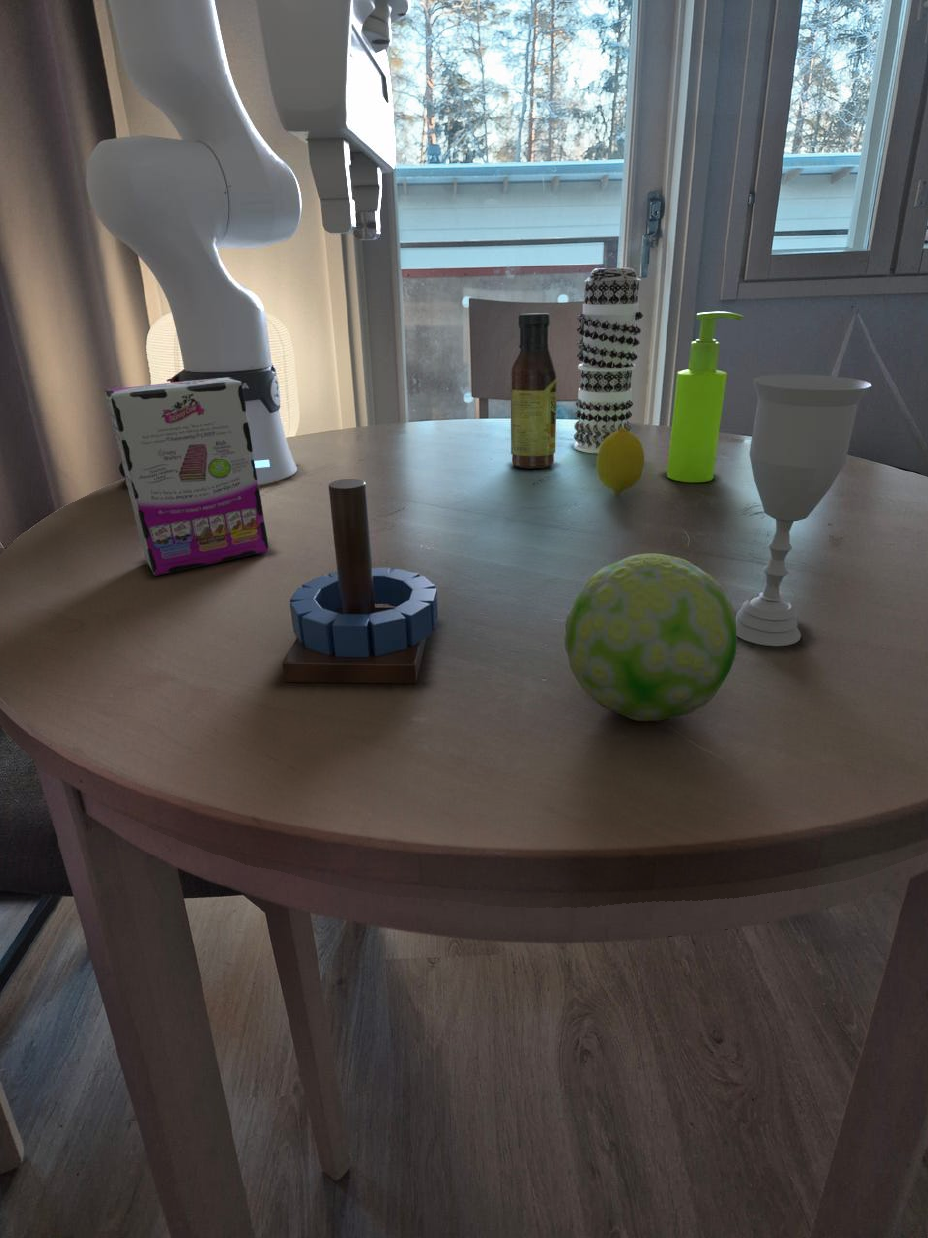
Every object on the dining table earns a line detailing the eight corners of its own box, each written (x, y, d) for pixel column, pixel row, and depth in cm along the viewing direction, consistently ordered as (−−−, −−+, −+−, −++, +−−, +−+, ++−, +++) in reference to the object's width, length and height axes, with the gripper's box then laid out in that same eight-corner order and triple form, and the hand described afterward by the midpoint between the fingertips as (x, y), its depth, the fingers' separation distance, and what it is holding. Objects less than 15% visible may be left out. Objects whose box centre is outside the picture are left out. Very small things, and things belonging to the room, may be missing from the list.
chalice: (837, 645, 52) (898, 385, 44) (757, 659, 50) (805, 392, 42) (771, 605, 58) (814, 372, 50) (697, 616, 56) (730, 377, 49)
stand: (284, 682, 48) (257, 503, 43) (316, 623, 57) (297, 466, 51) (416, 684, 48) (406, 503, 42) (429, 624, 56) (422, 466, 51)
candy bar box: (255, 539, 75) (229, 375, 68) (270, 553, 71) (245, 380, 64) (142, 561, 70) (101, 386, 63) (152, 577, 66) (110, 393, 59)
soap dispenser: (721, 484, 91) (744, 313, 82) (664, 480, 93) (682, 313, 84) (721, 473, 96) (744, 310, 87) (668, 470, 98) (685, 310, 89)
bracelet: (276, 656, 49) (272, 624, 48) (315, 594, 58) (311, 566, 57) (428, 658, 48) (427, 626, 47) (442, 595, 57) (441, 567, 56)
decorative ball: (737, 763, 40) (767, 598, 35) (556, 747, 41) (564, 588, 37) (713, 674, 48) (735, 533, 44) (565, 663, 50) (572, 527, 46)
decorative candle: (595, 438, 117) (606, 268, 106) (643, 447, 111) (659, 266, 100) (559, 447, 111) (566, 268, 100) (607, 457, 105) (620, 267, 94)
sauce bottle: (560, 469, 99) (566, 313, 91) (516, 471, 98) (518, 315, 90) (547, 458, 105) (552, 311, 96) (505, 460, 104) (506, 312, 96)
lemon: (641, 501, 85) (647, 433, 81) (593, 499, 86) (598, 431, 82) (640, 488, 90) (646, 423, 86) (595, 487, 91) (599, 422, 87)
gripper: (323, 28, 52) (341, 243, 58) (221, -105, 34) (263, 229, 40) (409, 25, 52) (418, 241, 58) (354, -112, 33) (376, 226, 39)
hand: (354, 236), depth 48 cm, fingers open, 8 cm apart
